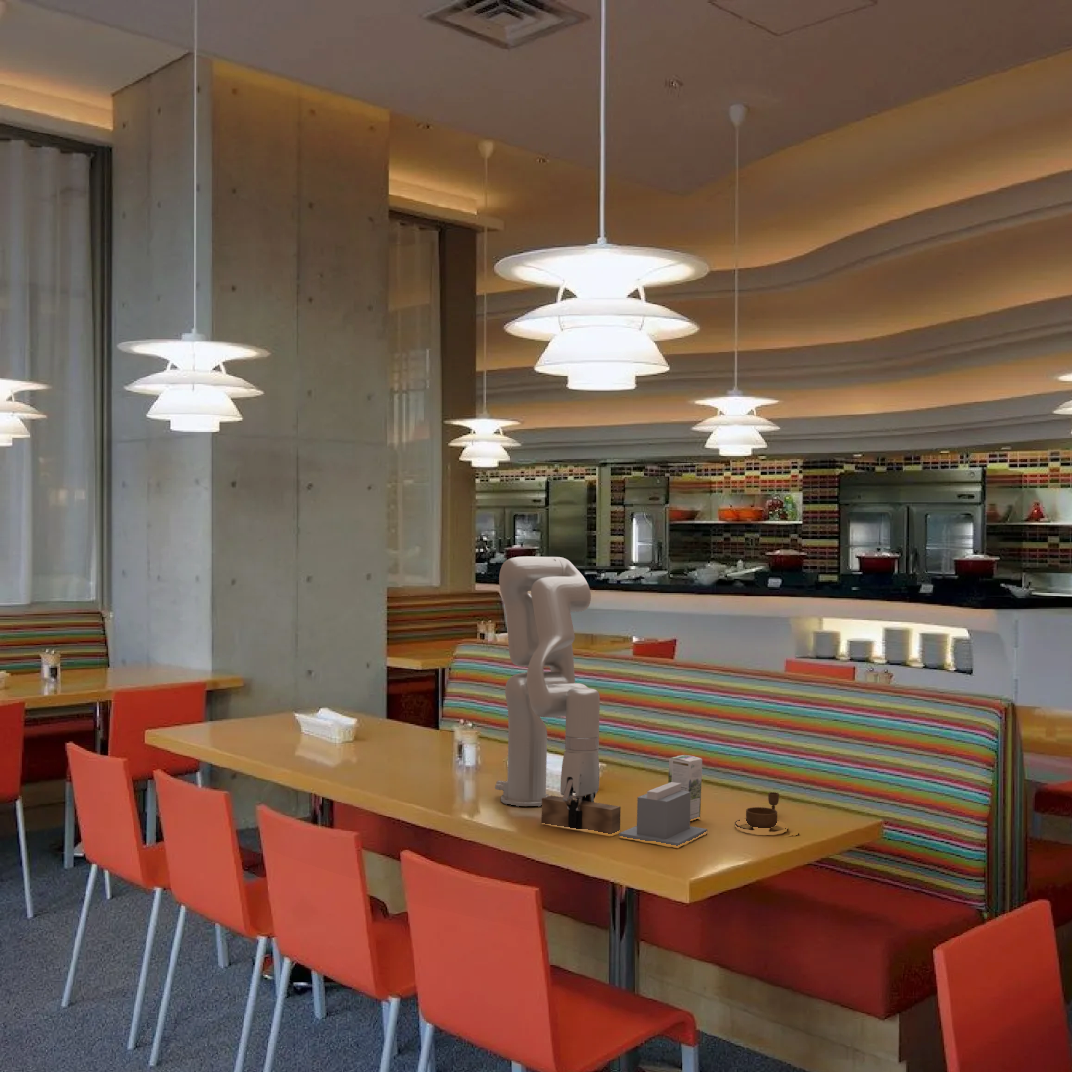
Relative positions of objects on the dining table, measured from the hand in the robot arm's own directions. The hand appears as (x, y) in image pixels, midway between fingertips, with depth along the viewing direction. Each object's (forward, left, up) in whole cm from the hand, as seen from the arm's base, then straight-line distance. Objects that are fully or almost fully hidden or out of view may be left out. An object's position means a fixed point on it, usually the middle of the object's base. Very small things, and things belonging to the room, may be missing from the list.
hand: (580, 825), depth 264 cm
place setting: (+34, +28, -2) cm, 44 cm away
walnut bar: (0, 0, -1) cm, 1 cm away
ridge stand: (+18, +5, -1) cm, 19 cm away
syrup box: (+15, +22, -1) cm, 27 cm away
